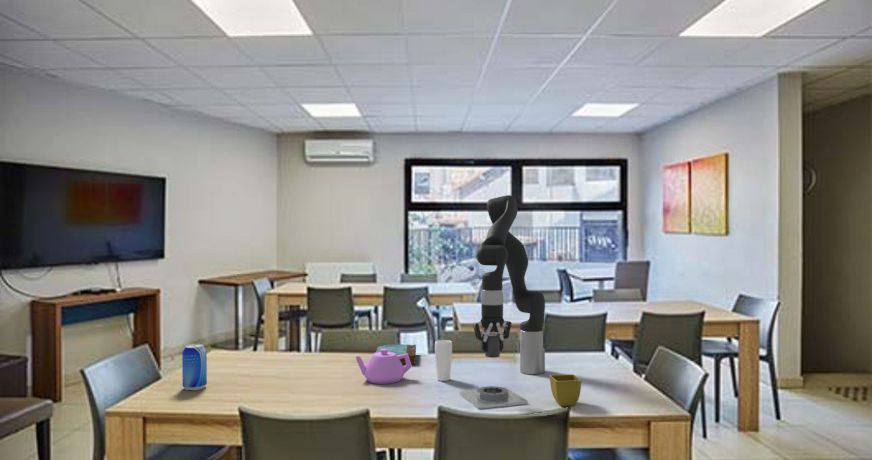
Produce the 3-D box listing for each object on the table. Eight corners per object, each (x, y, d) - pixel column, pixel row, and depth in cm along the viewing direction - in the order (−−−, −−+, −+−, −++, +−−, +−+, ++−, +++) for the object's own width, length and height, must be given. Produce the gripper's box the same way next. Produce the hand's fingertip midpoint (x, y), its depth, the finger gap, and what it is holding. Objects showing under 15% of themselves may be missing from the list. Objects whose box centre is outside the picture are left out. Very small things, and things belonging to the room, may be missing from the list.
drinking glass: (450, 382, 233) (450, 343, 233) (433, 381, 234) (433, 342, 234) (453, 378, 240) (453, 340, 239) (436, 377, 241) (436, 339, 241)
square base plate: (505, 389, 222) (505, 381, 222) (527, 403, 205) (527, 395, 205) (459, 394, 217) (459, 386, 217) (478, 409, 200) (478, 400, 200)
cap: (496, 354, 214) (496, 334, 214) (502, 356, 209) (502, 336, 209) (483, 354, 212) (483, 335, 212) (488, 358, 208) (488, 337, 207)
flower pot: (549, 400, 209) (548, 374, 209) (573, 399, 210) (573, 373, 210) (556, 408, 200) (556, 381, 200) (582, 407, 201) (582, 380, 201)
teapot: (410, 373, 247) (410, 344, 247) (413, 384, 231) (413, 352, 231) (356, 375, 244) (355, 346, 244) (355, 386, 229) (355, 354, 229)
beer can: (211, 386, 230) (211, 344, 229) (196, 392, 222) (195, 348, 222) (193, 384, 232) (193, 342, 232) (177, 390, 224) (177, 347, 224)
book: (415, 366, 261) (415, 355, 261) (374, 366, 261) (374, 355, 261) (415, 354, 284) (415, 344, 284) (378, 355, 284) (378, 344, 284)
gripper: (506, 300, 216) (506, 348, 216) (469, 302, 212) (469, 350, 212) (515, 303, 209) (515, 352, 209) (477, 304, 205) (477, 355, 205)
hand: (492, 351), depth 211 cm, fingers closed on cap, 5 cm apart
